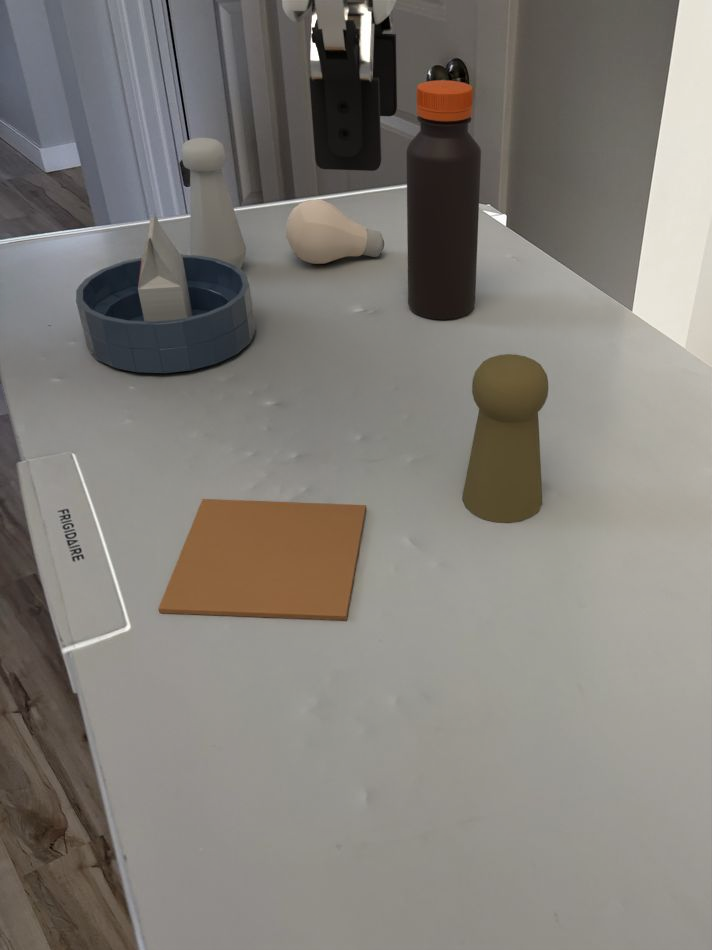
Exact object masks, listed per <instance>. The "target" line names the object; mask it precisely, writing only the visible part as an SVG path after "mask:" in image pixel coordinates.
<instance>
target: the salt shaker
mask: <svg viewBox="0 0 712 950" xmlns="http://www.w3.org/2000/svg"><path fill="white" fill-rule="evenodd" d="M181 160H182V164H183V167H184V168H186V169H187V170H189V219H190V220H189V221H190V222H189V224H190V227H189V228H190V229H189V230H190V231H189V249H190V255H198V256H203V257H209V258H215V259H219V260H222V261H224V262H227V263H230V264H232V265H235V266H236V267H238V268H239V269H240V270H241V271H242V268H243V265H244V262H245V257H246V255H247V246H246V243H245V239H244V236H243V234H242V231H241V228H240V225H239V221H238V218H237V215H236V212H235V209H234V205H233V201H232V198H231V196H230V193H229V189H228V187H227V182H226V180H225V176H224V174H223V173H224V172H223V170H222V169H223V168H224V167H225V166H226V164H227V154H226V150H225V146H224V144H223V143H222V142H220V140H217V139H216V138H210V137H195V138H191V139H188V140H186V141H184V142H183V144H182V146H181Z"/></svg>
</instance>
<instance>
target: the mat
mask: <svg viewBox="0 0 712 950" xmlns="http://www.w3.org/2000/svg"><path fill="white" fill-rule="evenodd" d="M366 512H367V505H366V504H353V503H352V504H349V503H348V504H347V503H346V504H345V503H326V502H325V503H323V502H322V503H321V502H319V503H318V502H300V501H299V502H297V501H272V500H271V501H270V500H269V501H268V500H246V499H243V500H242V499H220V498H219V499H217V498H215V499H214V498H202V499H201V501H200V504H199V507H198V509H197V512H196V515H195V517H194V520H193V522H192V525H191V527H190V530H189V532H188V534H187V537H186V539H185V541H184V544H183V547H182V549H181V551H180V554H179V556H178V558H177V561H176V564H175V566H174V568H173V571H172V573H171V577H170V579H169V581H168V584H167V586H166V589H165V591H164V593H163V595H162V597H161V601H160V603H159V606H158V613H159V614H177V615H178V614H179V615H200V616H201V615H205V616H227V617H228V616H229V617H253V618H276V619H277V618H278V619H301V620H302V619H303V620H327V621H328V620H331V621H347V620H348V614H349V610H350V602H351V599H352V593H353V586H354V580H355V575H356V570H357V564H358V558H359V551H360V547H361V540H362V535H363V529H364V524H365V518H366Z"/></svg>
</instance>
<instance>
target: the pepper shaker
mask: <svg viewBox="0 0 712 950" xmlns="http://www.w3.org/2000/svg"><path fill="white" fill-rule="evenodd" d="M471 387H472V388H471V393H472V397H473V401H474V403H475V405H476V406H477V408H478V413H477V418H476V423H475V429H474V432H473V433H474V434H473V438H472V443H471V449H470V454H469V460H468V464H467V470H466V475H465V480H464V486H463V491H462V497H461V498H462V499H461V500H462V502H463V505H464V507H465V509H467V510H468V511H469V512H470V513H471V514H472V515H474V516H476V517H478V518H480V519H481V520H486V521H489V522H490V521H491V522H494V523H505V524H506V523H508V524H509V523H515V522H523V521H524V520H527V519H529V518H532V517H533V516H535V515H536V514H537V513H538V512H540V510H541V508H542V506H543V505H544V503H543V501H544V500H543V481H542V460H541V446H540V445H541V443H540V442H541V441H540V423H539V412H540V411H541V410H542V409H543V407H544V405H545V403H546V402H547V398H548V394H549V379H548V374H547V372H546V371H545V369H544V367H543V365H541V364H540V363H539V362H538V361H536V360H535V359H532V358H530V357H528V356H525V355H520V354H515V353H505V354H504V353H503V354H497V355H494V356H491V357H488V358H487V359H485V360H483V361H482V362H481V363H480V365H479V366H478V367H477V369H476V370H475V371H474V374H473V377H472V385H471Z"/></svg>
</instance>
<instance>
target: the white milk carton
mask: <svg viewBox="0 0 712 950" xmlns="http://www.w3.org/2000/svg"><path fill="white" fill-rule="evenodd" d="M148 226H149V227H148V234H147V238H146V242H145V245H144V249H143V252H142V256H141V258H142V259H141V267H140V276H139V284H138V293H139V297H140V302H141V307H142V312H143V316H144V321H152V322H156V321H166V320H176V319H183V318H187V317H191V316H193V315H192V309H191V303H190V298H189V292H188V286H187V280H186V274H185V269H184V263H183V257H182V256H181V255H182V254H181V252H180V251H179V250H178V248H177V247H176V245H175V244H174V243H173V242H172V240H171V238H170V237H169V235H168V234H167V233H166V232H165V230H164V228H163V227H162V225H161V223H160V222H159V219H158V217H157V215H156V213H154V214H153V215H152V214H150V216H149V225H148Z"/></svg>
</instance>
